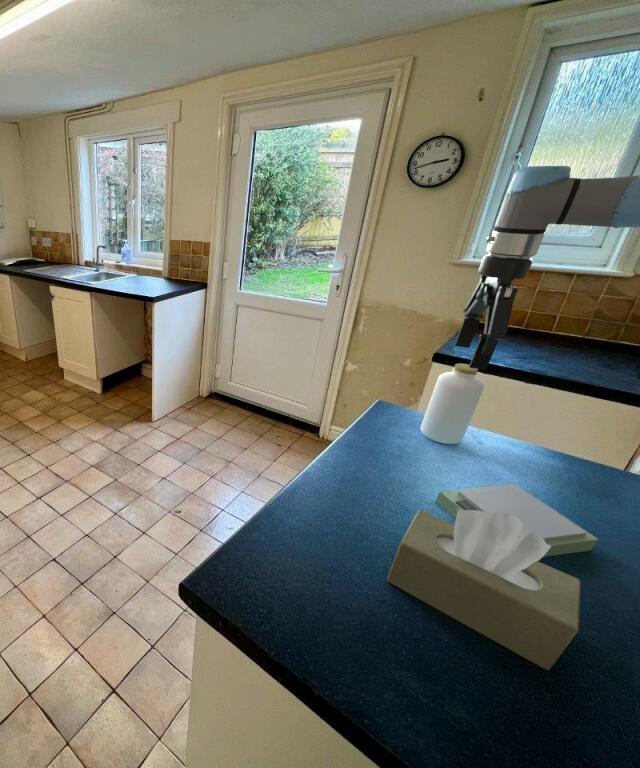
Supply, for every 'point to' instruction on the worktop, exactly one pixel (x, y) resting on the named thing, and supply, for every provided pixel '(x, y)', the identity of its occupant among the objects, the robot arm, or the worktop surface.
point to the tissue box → (490, 581)
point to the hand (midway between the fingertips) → (469, 356)
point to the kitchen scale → (521, 515)
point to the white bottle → (452, 405)
